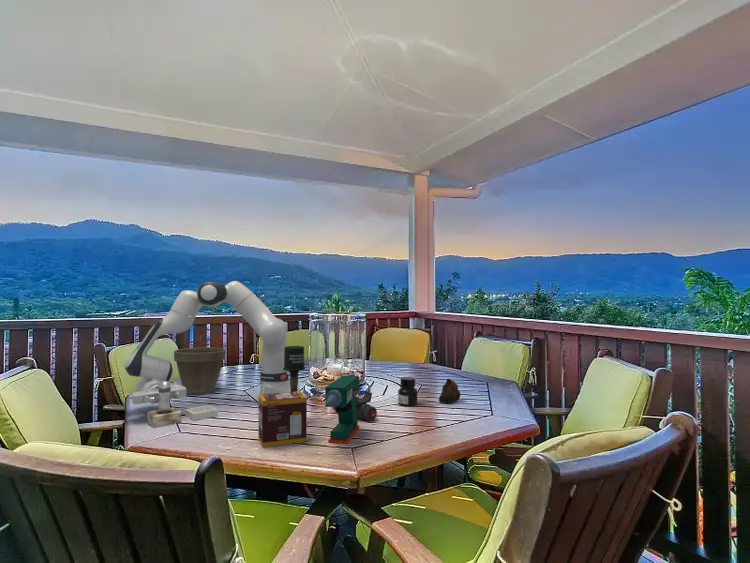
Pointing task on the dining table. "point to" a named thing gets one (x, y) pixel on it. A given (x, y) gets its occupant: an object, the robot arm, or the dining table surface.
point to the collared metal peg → (164, 397)
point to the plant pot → (199, 368)
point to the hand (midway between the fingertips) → (165, 398)
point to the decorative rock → (449, 392)
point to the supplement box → (282, 418)
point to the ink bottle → (407, 392)
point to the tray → (201, 412)
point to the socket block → (163, 417)
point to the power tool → (343, 407)
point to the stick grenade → (294, 363)
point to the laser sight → (364, 408)
